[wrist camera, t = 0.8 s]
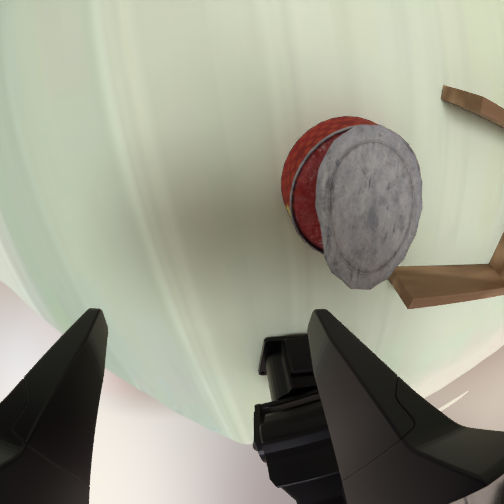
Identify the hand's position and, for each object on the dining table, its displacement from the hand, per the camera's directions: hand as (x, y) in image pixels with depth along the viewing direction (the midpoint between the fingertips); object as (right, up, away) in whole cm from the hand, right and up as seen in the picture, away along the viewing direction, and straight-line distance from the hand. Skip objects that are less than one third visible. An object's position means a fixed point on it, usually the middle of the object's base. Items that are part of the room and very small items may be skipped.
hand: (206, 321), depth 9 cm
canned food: (+8, +8, +12) cm, 17 cm away
